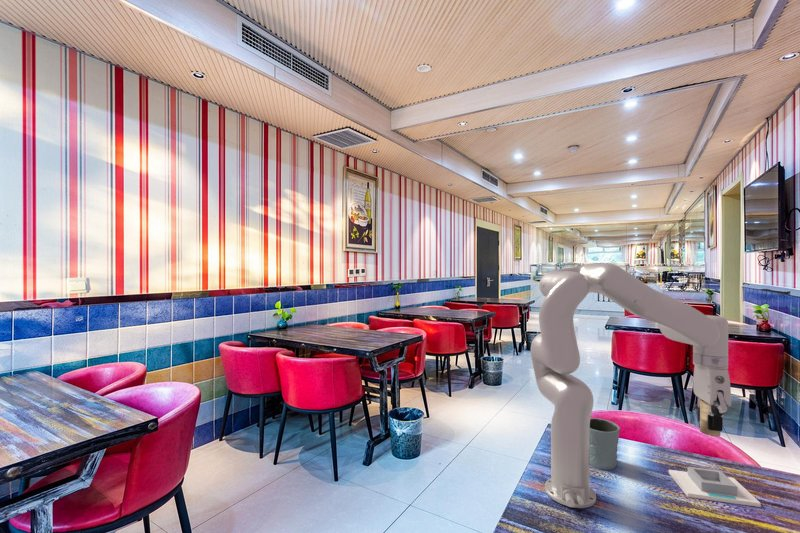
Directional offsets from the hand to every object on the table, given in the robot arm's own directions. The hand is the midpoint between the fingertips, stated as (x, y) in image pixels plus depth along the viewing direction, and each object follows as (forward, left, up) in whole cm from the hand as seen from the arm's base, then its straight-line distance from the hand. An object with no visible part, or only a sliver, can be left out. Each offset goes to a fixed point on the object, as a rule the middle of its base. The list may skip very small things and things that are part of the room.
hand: (709, 425), depth 104 cm
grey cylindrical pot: (+7, +26, -18) cm, 32 cm away
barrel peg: (0, 0, -2) cm, 2 cm away
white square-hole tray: (0, 0, -17) cm, 17 cm away
